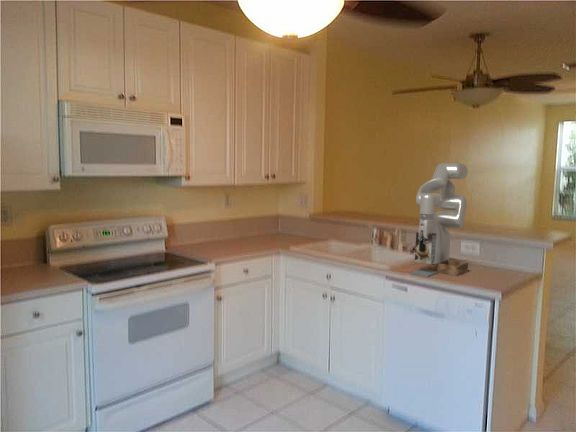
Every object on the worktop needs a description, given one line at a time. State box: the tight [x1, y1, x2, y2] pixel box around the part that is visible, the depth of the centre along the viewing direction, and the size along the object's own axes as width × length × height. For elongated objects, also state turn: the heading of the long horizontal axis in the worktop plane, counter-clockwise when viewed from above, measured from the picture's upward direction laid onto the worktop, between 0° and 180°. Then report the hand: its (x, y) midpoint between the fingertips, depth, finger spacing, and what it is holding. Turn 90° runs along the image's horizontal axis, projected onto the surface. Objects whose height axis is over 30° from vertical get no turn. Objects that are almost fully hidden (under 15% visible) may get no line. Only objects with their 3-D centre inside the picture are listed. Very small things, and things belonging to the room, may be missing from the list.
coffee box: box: [414, 231, 436, 265], centre depth 239 cm, size 9×6×16 cm
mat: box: [410, 268, 438, 278], centre depth 241 cm, size 10×12×1 cm
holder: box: [435, 259, 469, 277], centre depth 246 cm, size 12×14×5 cm
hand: (425, 250), depth 239 cm, fingers closed on coffee box, 6 cm apart
